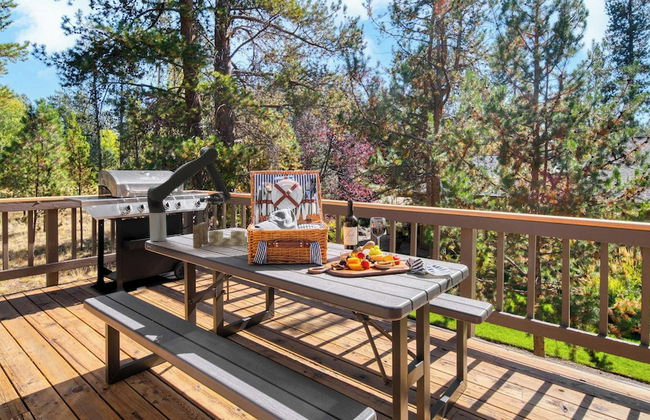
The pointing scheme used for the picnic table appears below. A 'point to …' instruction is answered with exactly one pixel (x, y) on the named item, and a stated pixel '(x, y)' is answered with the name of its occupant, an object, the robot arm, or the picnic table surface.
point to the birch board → (218, 239)
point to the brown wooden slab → (200, 234)
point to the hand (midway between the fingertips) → (208, 200)
